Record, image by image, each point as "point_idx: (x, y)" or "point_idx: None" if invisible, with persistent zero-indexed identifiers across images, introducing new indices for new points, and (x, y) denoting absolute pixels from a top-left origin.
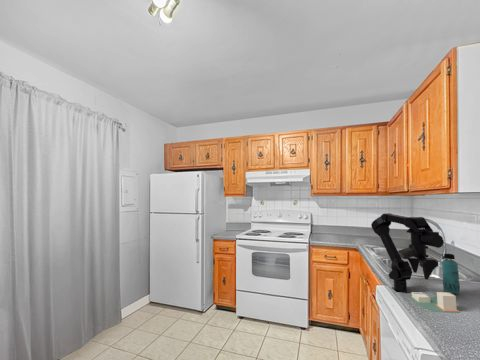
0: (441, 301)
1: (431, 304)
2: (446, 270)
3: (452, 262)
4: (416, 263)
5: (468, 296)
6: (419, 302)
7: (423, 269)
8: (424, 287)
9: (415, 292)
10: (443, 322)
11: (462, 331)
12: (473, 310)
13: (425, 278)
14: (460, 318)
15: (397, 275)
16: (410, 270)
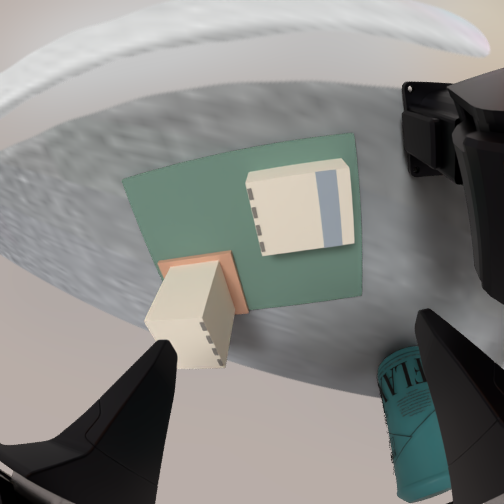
0: (172, 289)
1: (235, 234)
2: (417, 449)
3: (408, 501)
4: (455, 441)
5: (374, 385)
6: (245, 174)
7: (81, 435)
8: (478, 282)
9: (348, 195)
10: (62, 219)
11: (38, 254)
12: (238, 360)
13: (153, 348)
14: (133, 293)
15: (470, 100)
16: (500, 290)
